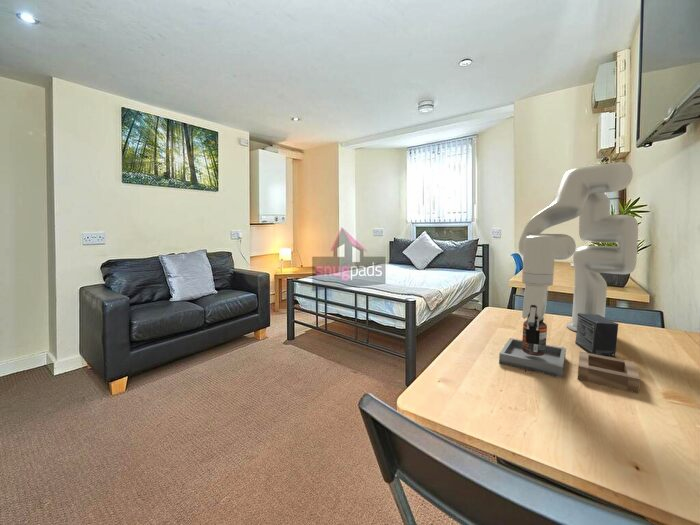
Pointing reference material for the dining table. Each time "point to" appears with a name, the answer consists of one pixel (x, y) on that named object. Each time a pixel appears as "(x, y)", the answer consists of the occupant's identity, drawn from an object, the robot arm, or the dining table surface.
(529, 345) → the supplement bottle
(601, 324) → the small box
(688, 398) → the dining table surface
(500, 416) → the dining table surface
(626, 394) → the dining table surface
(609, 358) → the holder block
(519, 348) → the tray
